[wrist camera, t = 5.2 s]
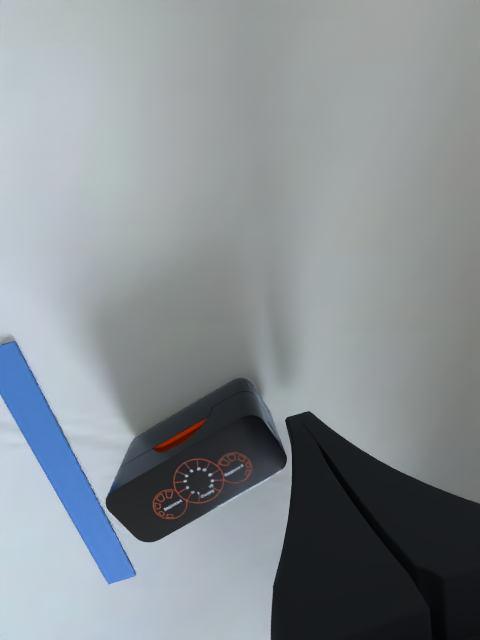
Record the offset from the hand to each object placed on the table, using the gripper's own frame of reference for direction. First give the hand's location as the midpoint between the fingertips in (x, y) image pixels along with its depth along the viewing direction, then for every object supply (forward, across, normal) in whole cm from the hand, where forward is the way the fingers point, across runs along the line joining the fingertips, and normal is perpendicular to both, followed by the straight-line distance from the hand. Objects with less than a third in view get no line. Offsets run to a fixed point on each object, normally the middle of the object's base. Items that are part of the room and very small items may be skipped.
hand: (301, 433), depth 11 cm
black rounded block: (+2, +5, 0) cm, 5 cm away
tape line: (+1, +11, 0) cm, 11 cm away
